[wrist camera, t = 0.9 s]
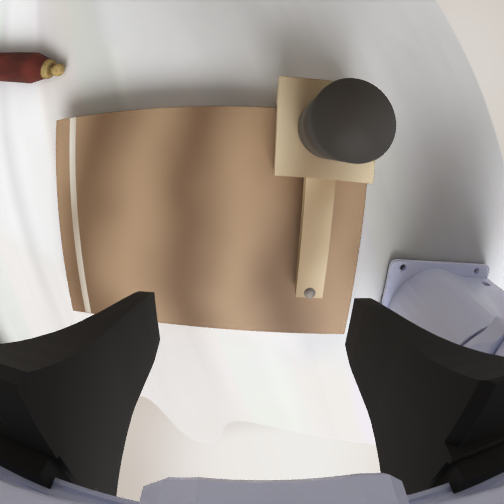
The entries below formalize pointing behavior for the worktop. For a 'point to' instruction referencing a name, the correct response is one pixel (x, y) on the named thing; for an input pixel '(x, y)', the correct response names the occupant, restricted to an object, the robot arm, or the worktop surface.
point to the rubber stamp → (327, 155)
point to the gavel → (27, 67)
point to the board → (196, 220)
